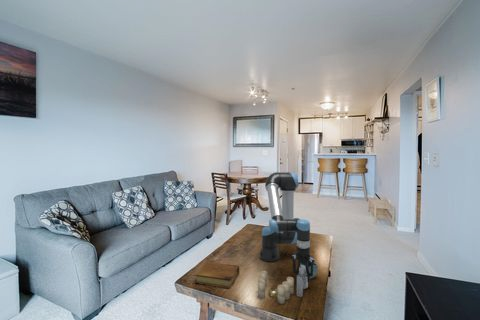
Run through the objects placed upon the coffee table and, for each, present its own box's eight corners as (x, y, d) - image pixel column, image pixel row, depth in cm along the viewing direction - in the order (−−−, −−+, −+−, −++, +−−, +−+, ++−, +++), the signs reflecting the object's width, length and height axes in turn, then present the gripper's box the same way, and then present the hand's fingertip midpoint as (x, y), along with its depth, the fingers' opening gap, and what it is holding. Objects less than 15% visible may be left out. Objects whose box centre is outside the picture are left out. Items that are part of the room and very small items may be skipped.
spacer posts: (261, 283, 142) (261, 270, 142) (294, 291, 134) (294, 277, 134) (252, 296, 129) (252, 281, 129) (288, 306, 121) (288, 290, 121)
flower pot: (307, 282, 144) (307, 267, 144) (298, 275, 152) (298, 261, 152) (318, 279, 148) (318, 264, 148) (308, 272, 156) (309, 259, 156)
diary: (239, 273, 155) (239, 265, 155) (230, 289, 137) (230, 279, 137) (207, 269, 161) (207, 261, 161) (195, 283, 143) (195, 274, 143)
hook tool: (300, 284, 141) (300, 264, 141) (306, 285, 140) (307, 265, 140) (295, 295, 130) (295, 274, 130) (303, 297, 128) (303, 275, 128)
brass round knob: (270, 291, 134) (270, 286, 134) (279, 293, 132) (279, 289, 132) (267, 296, 130) (267, 291, 130) (276, 298, 127) (276, 293, 127)
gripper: (287, 246, 139) (287, 285, 139) (317, 251, 131) (317, 292, 132) (290, 242, 145) (290, 279, 146) (318, 246, 138) (318, 285, 139)
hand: (302, 285), depth 139 cm, fingers closed on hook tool, 4 cm apart
